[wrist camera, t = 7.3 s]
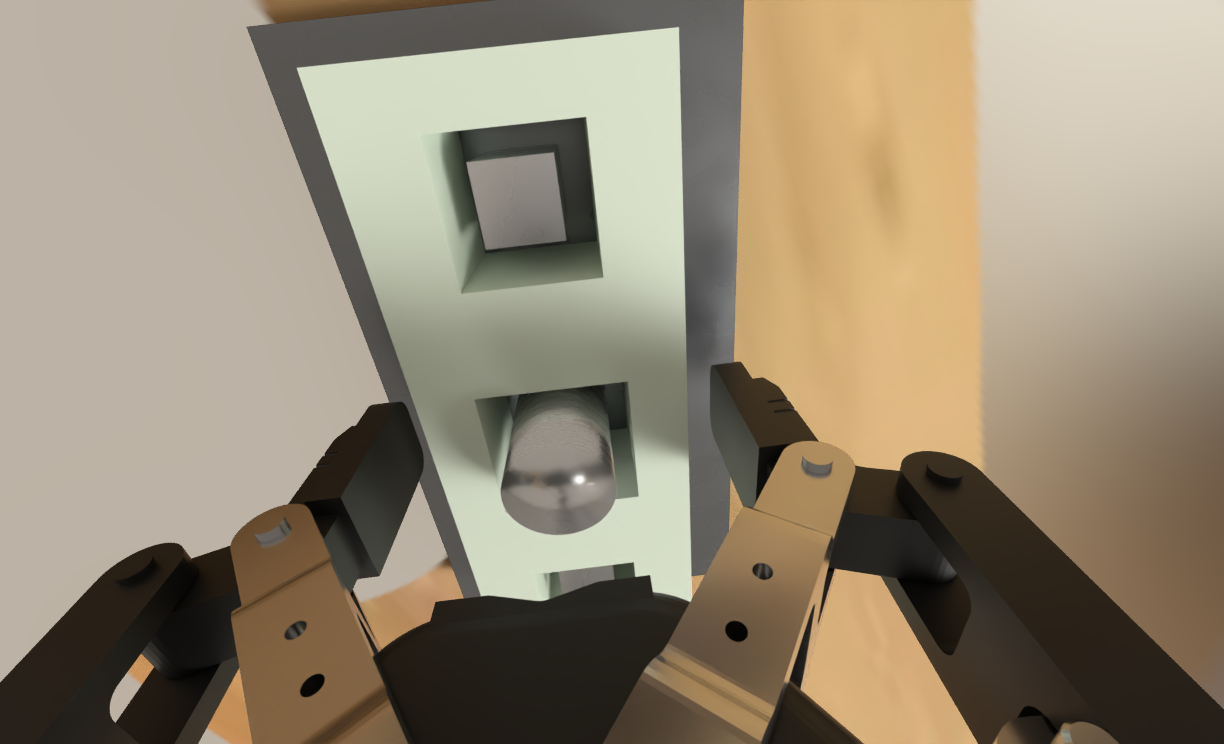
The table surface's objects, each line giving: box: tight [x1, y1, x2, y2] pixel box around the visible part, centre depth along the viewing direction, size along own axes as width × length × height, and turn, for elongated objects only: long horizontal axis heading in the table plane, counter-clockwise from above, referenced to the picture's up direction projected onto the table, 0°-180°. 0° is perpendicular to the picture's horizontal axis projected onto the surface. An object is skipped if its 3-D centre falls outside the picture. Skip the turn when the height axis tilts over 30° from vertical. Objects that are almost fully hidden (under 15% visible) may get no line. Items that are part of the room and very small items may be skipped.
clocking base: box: [247, 0, 744, 598], centre depth 13 cm, size 18×10×6 cm, turn 5°
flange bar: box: [297, 27, 692, 602], centre depth 13 cm, size 16×6×3 cm, turn 5°
